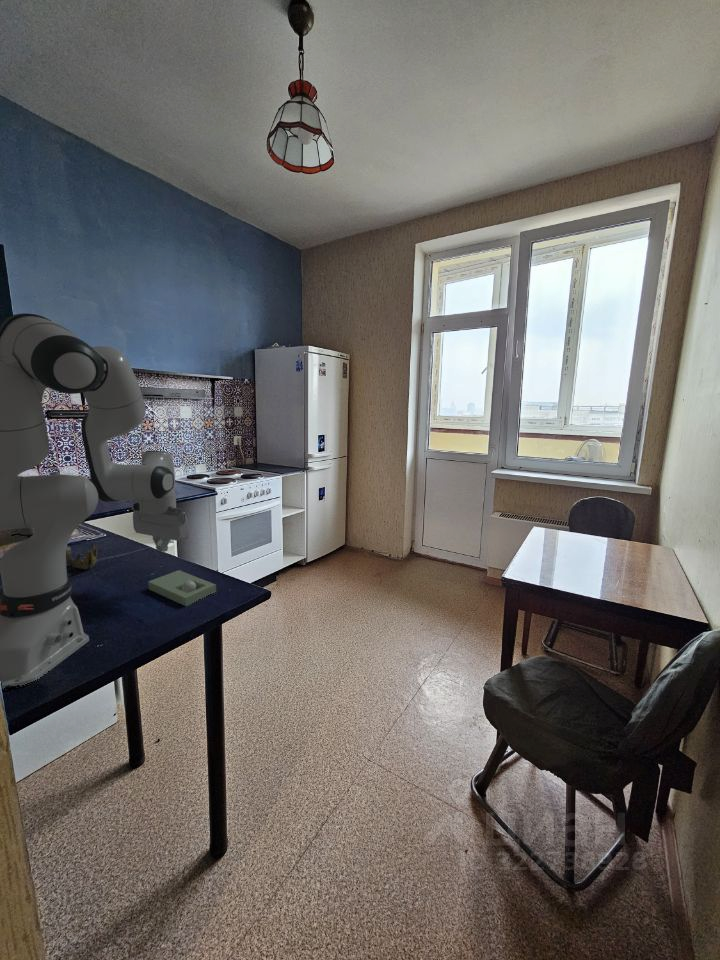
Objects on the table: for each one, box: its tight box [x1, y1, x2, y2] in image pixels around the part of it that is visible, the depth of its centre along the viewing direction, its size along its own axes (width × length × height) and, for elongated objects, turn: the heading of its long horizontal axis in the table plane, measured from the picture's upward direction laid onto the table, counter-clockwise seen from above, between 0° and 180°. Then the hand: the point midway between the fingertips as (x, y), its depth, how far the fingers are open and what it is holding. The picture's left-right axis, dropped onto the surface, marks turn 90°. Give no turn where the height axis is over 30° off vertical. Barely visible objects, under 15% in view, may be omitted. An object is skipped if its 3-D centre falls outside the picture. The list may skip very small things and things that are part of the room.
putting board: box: [147, 570, 217, 607], centre depth 115 cm, size 18×10×2 cm, turn 59°
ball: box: [181, 580, 196, 593], centre depth 114 cm, size 4×4×4 cm
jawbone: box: [66, 542, 98, 570], centre depth 129 cm, size 9×15×10 cm
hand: (162, 550), depth 116 cm, fingers closed
